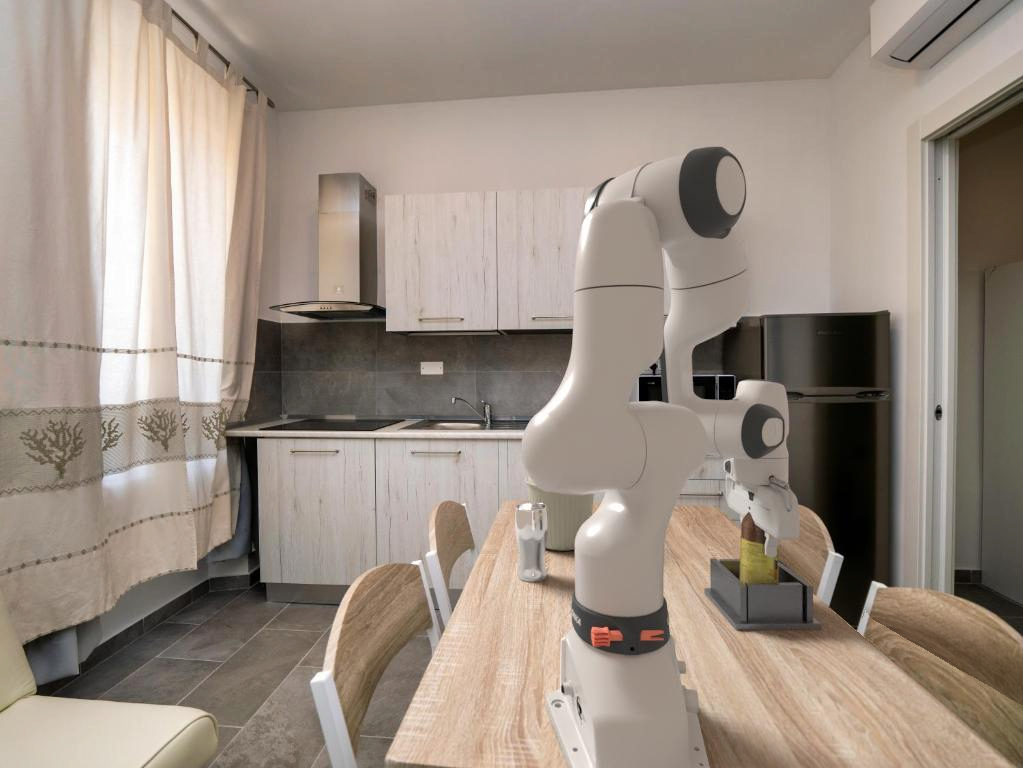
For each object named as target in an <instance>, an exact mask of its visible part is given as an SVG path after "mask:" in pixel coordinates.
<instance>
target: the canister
mask: <svg viewBox="0 0 1023 768" xmlns="http://www.w3.org/2000/svg"><path fill="white" fill-rule="evenodd" d="M524 482H525V483H526V484H527V491H528V499H529V501H528V502H537V503H543V504H545V505H546V506H547V516H548V536H547V543H546V549H547V550H552V551H559V552H560V551H563V552H565V551H575V538H576V535H577V532H578V530H579V528H580V527H581V526H582V524H583V523H584V522H585V521H586V520H587V519H589V518H590V517H591V516H592V515H593V511H594V510H593V508H594V499H595V497H594V496H595V493H593V494H586V495H570V494H559V493H551V492H545V491H543V490H541V489H540V488H538V487H537V486H536V485H535V484H534V482H533V481H532V480H531V479H530V477H529V476H526V477H525V479H524Z"/></svg>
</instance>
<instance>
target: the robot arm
mask: <svg viewBox="0 0 1023 768" xmlns="http://www.w3.org/2000/svg"><path fill="white" fill-rule="evenodd" d="M746 200H747V183H746V177H745V173H744V170H743V167H742V165H741V163H740V161H739V159H738V158H737V157H736V155H734V154H733V153H732V152H730V151H729V150H728V149H727V148H725V147H723V146H708V147H707V146H705V147H700V148H694V149H692V150H690V151H689V152H688V153H683V154H679V155H676V156H670V157H668V158H664V159H660V160H658V161H653V162H652V161H650V162H646V163H644V164H642V165H639V166H637V167H635V168H633V169H629V170H628V171H626V172H624V173H622V174H620V175H618V176H616V177H610V178H608V179H606V180H605V181H603V182H602V183H600V184H598V185H597V186H596V187H594V189H593V190H591V192H590V193H589V195H588V197H587V200H586V202H585V205H584V211H583V221H582V225H581V227H580V233H579V238H578V242H577V243H578V244H577V248H576V249H577V250H576V255H575V264H574V265H575V266H574V278H573V279H574V282H573V283H574V284H573V323H572V324H573V325H572V326H573V327H572V345H571V351H570V358H569V360H568V361H569V362H568V365H567V368H566V371H565V374H564V376H563V378H562V379H561V382H560V384H559V386H558V388H557V390H556V391H555V393H554V394H553V396H552V397H551V399H550V400H549V401H548V402H547V404H546V405H544V407H542V409H541V410H539V411H538V412H537V413H536V414H534V415H533V417H532V418H530V420H529V422H528V423H527V426H526V427H525V429H524V432H523V435H522V439H521V444H520V445H521V446H520V450H521V451H520V452H521V453H520V454H521V461H522V464H523V466H524V467H523V468H524V470H525V472H526V473H527V475H528V476H527V477H530V479H531V480H532V481H533V482H534V484H535V485H536V486H537V487H538V488H540V489H541V490H543V491H545V492H551V493H559V494H570V495H586V494H593V493H594V494H598V493H604V497H603V498H602V501H601V503H600V505H598V507H597V509H596V510H595V512H593V513H592V516H591V517H590V518H589V519H587V520H586V521H585V522H584V523H583V524H582V526H581V527H580V528H579V530H578V532H577V535H576V538H575V549H574V590H573V591H572V594H571V595H572V597H571V603H570V612H571V624H572V627H570V629H569V630H568V632H567V633H566V634H565V635H563V637H562V638H561V640H560V652H559V653H560V657H559V660H560V661H559V688H558V689H555V690H554V691H551V692H550V693H548V695H547V696H546V701H545V708H546V710H547V713H548V715H549V718H550V721H551V724H552V726H553V728H554V731H555V734H556V737H557V738H558V742H559V744H560V746H561V749H562V751H563V754H564V757H565V759H566V762H567V765H568V768H711V767H710V763H709V758H708V754H707V750H706V746H705V741H704V738H703V734H702V729H701V724H700V721H699V717H698V713H700V712H699V711H700V702H699V701H700V700H699V695H698V691H697V690H695V689H693V688H686V685H684V684H683V683H682V679H681V675H686V674H687V665H686V662H685V661H683V660H678V658H677V653H676V638H675V637H673V636H672V634H671V630H670V614H669V610H668V603H667V599H666V598H665V595H664V591H665V590H664V587H665V586H664V580H665V579H664V578H665V577H664V576H665V575H664V572H665V548H666V547H665V546H666V538H667V533H668V530H669V525H670V522H671V518H672V515H673V512H674V510H675V506H676V504H677V502H678V500H679V497H680V496H681V493H682V491H683V489H684V487H685V485H686V484H687V482H688V481H689V480H690V478H692V476H693V475H694V474H695V473H696V472H697V471H698V470H699V469H700V468H701V467H702V465H703V464H704V461H705V459H706V457H707V456H714V457H720V458H729V459H725V460H724V461H723V471H724V472H725V473H726V474H725V498H726V499H725V500H726V503H727V506H728V508H730V509H731V510H732V511H734V512H736V513H737V514H738V515H739V520H740V524H741V523H742V520H743V518H744V516H745V515H746V514H747V513H748V512H750V514H751V515H752V518H753V520H754V523H755V525H756V526H758V527H759V528H761V529H762V530H764V531H765V537H766V541H765V544H762V549H763V550H762V552H763V553H764V554H765V555H766V556H767V557H776V555H777V546H778V545H779V546H780V542H781V541H785V540H786V541H787V540H788V541H789V540H790V541H791V540H792V541H793V540H795V541H796V540H797V539H798V538H799V536H800V532H801V528H800V527H801V526H800V521H801V520H800V511H799V510H800V509H799V502H798V497H797V496H796V494H795V492H793V490H792V489H791V488H790V484H789V455H790V454H789V450H788V447H787V438H788V436H789V433H790V411H789V401H788V395H787V390H786V387H785V385H783V384H782V383H781V382H778V381H776V380H770V379H768V380H767V379H761V378H760V379H759V378H758V379H756V378H751V379H749V378H748V379H744V380H741V381H739V382H737V383H738V385H737V388H736V393H735V397H733V398H732V399H729V400H728V399H727V400H725V399H707V398H706V399H705V398H701V397H699V396H698V395H696V394H695V392H694V381H693V377H694V376H693V358H692V356H693V351H694V348H695V347H696V346H698V345H699V344H701V343H704V342H706V341H708V340H710V339H712V338H715V337H717V336H719V335H720V334H722V333H724V332H725V331H727V330H729V329H730V328H731V327H732V326H734V325H735V324H737V323H738V322H739V320H741V318H742V317H743V316H744V314H745V312H746V311H747V310H748V307H749V305H750V304H749V303H750V298H751V290H750V280H749V275H748V274H749V273H748V269H747V264H746V259H745V255H744V251H743V247H742V243H741V240H740V237H739V233H738V231H737V228H736V224H737V222H738V220H739V219H740V217H741V215H742V213H743V211H744V208H745V205H746ZM662 249H663V250H662ZM663 251H664V253H663ZM663 255H664V258H663ZM664 263H665V270H666V277H667V282H668V287H669V291H670V292H669V293H670V308H669V312H668V314H667V315H666V316H664V315H665V274H664V273H665V272H664ZM658 360H659V364H660V365H659V367H660V379H661V394H662V401H658V400H650V401H649V400H648V401H630V400H631V396H632V393H633V390H634V386H635V385H636V383H637V380H638V379H639V378H640V376H641V375H642V374H643V372H645V371H646V370H647V369H648V368H650V367H652V366H653V365H654V364H655V363H656V362H657V361H658ZM748 491H749V492H752V493H754V496H753V501H751V500H749V494H748ZM748 507H750V508H751V509H750V510H749V508H748Z"/></svg>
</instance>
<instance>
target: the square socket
mask: <svg viewBox="0 0 1023 768" xmlns="http://www.w3.org/2000/svg"><path fill="white" fill-rule="evenodd" d="M709 563H710V564H709V565H710V572H709V574H710V577H709V578H710V579H709V580H710V587H704V591H703V592H704V593H703V594H704V595H705V596H706V597H707V598H708V599H709V600H710V602H711V603H712V604H713V606H715V607H716V609H717V610H718V611H719V613H721V615H722V616H723V617H724V618H725V619H726V620H727V622H728V623H729V625H731V626H732V627H733V629H734V630H735V631H782V630H783V631H785V629H786V631H789V630H790V629H792V630H793V631H794V629H796V631H797V630H801V631H803V630H804V631H805V629H807V630H808V629H817V630H822V623H821V622H820V621H818V620H817V618H815V617H814V585H812V584H811V583H809V582H808V581H807V580H805V579H804V578H802V577H801V576H799V575H798V574H797V573H796V572H794V571H793V570H791V569H790V568H788V567H787V566H786V565H784V564H783V563H781V562H780V561H779V576H778V583H745V585H744V584H743V583H742V582H741V581H740V558H721V559H720V558H719V560H718V559H717V558H716V557H715V558H714V557H713V558H710V559H709ZM802 629H803V630H802ZM790 631H791V630H790ZM808 631H809V630H808Z"/></svg>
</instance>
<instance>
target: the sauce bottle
mask: <svg viewBox="0 0 1023 768" xmlns="http://www.w3.org/2000/svg"><path fill="white" fill-rule="evenodd" d="M748 494H749V500H751V501H753V496H754V493H752V492H749V491H748ZM748 508H749V510H750V509H751V508H750V507H748ZM740 524H741V525H740V529H741V530H740V538H739V539H740V541H739V542H740V543H739V547H740V548H739V559H740V581H741V582H742V583H743V584H744V585H745V583H778V576H779V562H780V544H779V545H778V546H777V555H776V557H767V556H766V555H765V554H764V553H763V552H762V550H763V549H762V544H765V541H766V537H765V531H764V530H762V529H761V528H759V527H758V526H756V525H755V523H754V520H753V518H752V515H751V514H750V512H748V513H747V514H746V515H745V516H744V518H743V520H742V523H741V522H740Z"/></svg>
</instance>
